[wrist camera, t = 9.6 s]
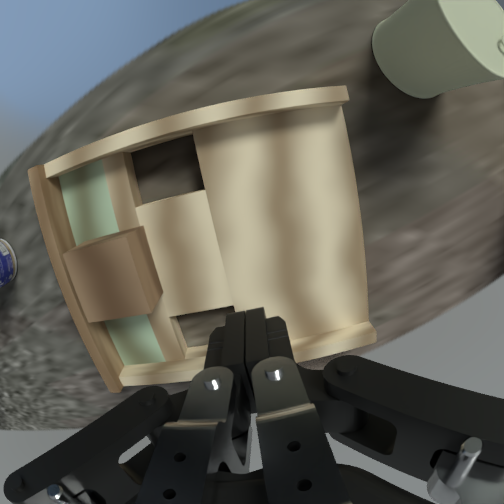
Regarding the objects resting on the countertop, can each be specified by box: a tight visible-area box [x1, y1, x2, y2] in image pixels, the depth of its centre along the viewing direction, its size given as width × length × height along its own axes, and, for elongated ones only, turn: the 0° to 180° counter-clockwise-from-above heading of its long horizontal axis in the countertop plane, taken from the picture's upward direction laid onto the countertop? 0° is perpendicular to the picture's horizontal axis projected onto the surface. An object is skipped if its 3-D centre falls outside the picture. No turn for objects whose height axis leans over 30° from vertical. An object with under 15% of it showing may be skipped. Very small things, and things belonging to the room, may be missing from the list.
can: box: [372, 0, 504, 99], centre depth 16 cm, size 9×9×12 cm
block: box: [63, 225, 163, 323], centre depth 22 cm, size 6×6×4 cm
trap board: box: [28, 86, 376, 393], centre depth 24 cm, size 26×22×5 cm
